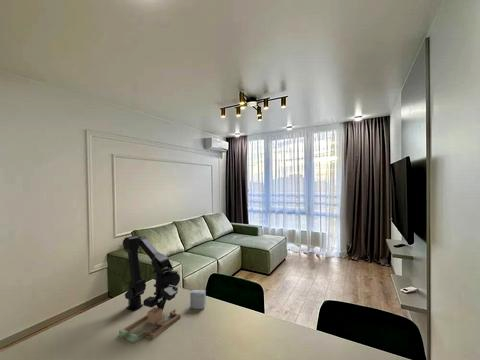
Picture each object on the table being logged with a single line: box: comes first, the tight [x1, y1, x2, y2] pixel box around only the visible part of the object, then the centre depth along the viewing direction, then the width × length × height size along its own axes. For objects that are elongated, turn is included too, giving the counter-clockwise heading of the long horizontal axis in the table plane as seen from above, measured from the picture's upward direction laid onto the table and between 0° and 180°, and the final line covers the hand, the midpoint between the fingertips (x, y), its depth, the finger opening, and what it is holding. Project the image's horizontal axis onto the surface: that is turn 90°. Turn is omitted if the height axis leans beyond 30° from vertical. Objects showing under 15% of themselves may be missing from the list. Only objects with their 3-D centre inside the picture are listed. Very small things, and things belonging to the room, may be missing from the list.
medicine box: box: [189, 289, 207, 310], centre depth 128 cm, size 8×4×9 cm, turn 84°
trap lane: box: [118, 309, 182, 344], centre depth 111 cm, size 16×25×2 cm, turn 154°
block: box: [146, 306, 163, 325], centre depth 115 cm, size 5×5×5 cm
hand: (161, 312), depth 118 cm, fingers closed
